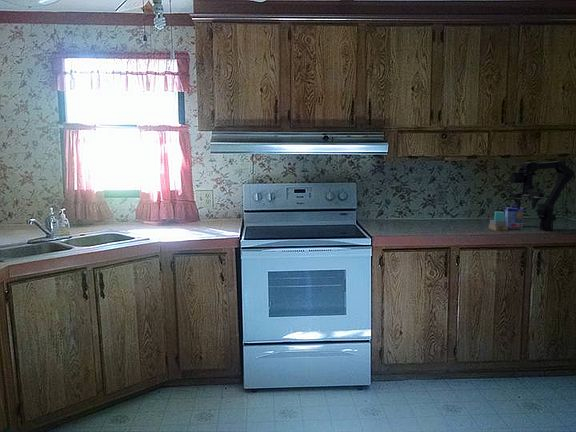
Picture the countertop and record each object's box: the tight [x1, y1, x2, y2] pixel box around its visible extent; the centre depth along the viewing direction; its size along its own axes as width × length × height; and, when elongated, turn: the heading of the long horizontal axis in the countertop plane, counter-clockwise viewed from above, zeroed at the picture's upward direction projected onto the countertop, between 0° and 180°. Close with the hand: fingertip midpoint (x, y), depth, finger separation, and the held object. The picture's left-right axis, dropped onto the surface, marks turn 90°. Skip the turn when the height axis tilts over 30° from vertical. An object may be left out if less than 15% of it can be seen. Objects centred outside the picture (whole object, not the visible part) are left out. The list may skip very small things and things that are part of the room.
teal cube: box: [493, 211, 505, 221], centre depth 303 cm, size 5×5×5 cm
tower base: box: [488, 223, 509, 232], centre depth 304 cm, size 8×8×3 cm
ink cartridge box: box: [504, 203, 525, 228], centre depth 311 cm, size 10×6×14 cm, turn 86°
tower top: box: [489, 219, 507, 226], centre depth 303 cm, size 7×7×3 cm
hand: (526, 209), depth 295 cm, fingers open, 9 cm apart
